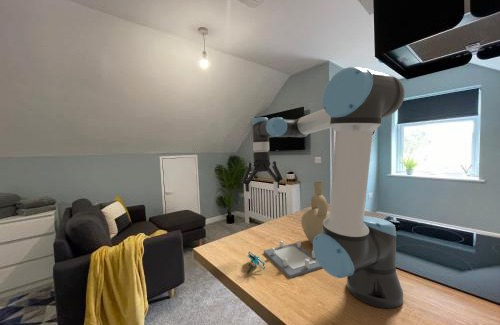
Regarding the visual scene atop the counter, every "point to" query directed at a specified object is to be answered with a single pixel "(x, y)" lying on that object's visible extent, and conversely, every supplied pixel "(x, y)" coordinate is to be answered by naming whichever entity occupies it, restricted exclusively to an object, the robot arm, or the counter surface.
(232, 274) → the counter surface
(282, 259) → the pin tray
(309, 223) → the vase
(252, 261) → the stick construction toy
